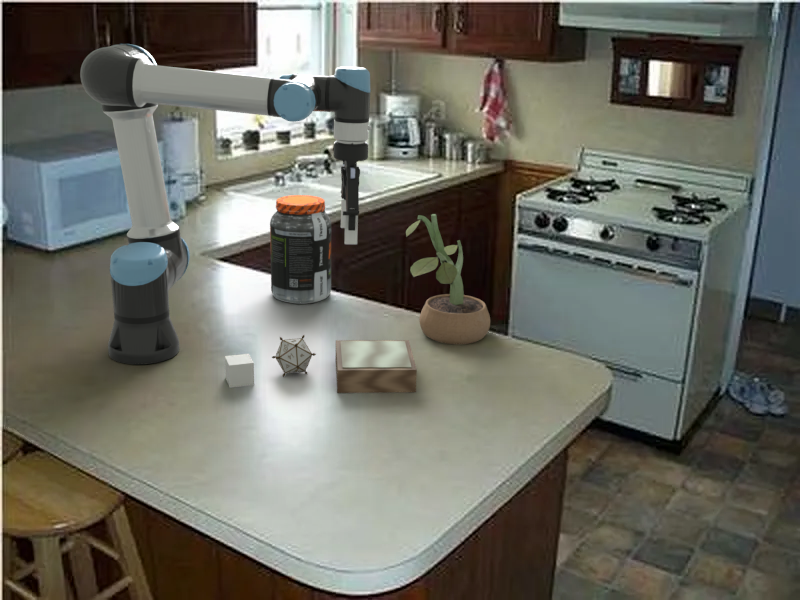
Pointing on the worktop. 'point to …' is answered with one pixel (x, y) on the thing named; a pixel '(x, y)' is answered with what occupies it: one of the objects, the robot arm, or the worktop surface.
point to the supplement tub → (300, 250)
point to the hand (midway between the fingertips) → (348, 235)
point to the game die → (293, 355)
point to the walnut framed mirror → (375, 366)
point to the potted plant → (449, 295)
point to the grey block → (239, 370)
